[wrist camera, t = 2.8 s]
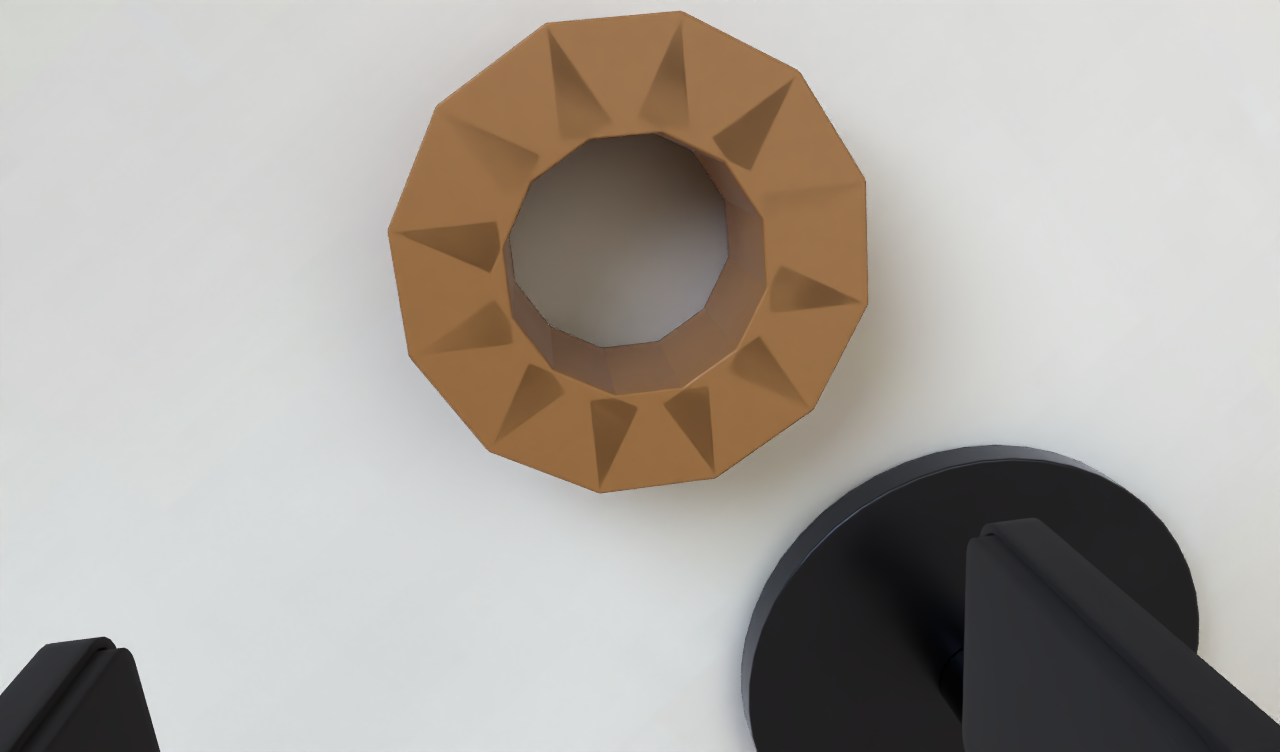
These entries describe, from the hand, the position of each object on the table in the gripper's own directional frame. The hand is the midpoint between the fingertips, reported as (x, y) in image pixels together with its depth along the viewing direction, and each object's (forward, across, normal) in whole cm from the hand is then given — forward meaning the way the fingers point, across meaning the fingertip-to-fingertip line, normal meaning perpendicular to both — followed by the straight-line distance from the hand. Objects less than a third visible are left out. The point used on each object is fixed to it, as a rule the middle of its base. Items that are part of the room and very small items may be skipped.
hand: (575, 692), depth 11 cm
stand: (+17, -12, +13) cm, 25 cm away
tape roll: (+17, -2, -2) cm, 17 cm away
